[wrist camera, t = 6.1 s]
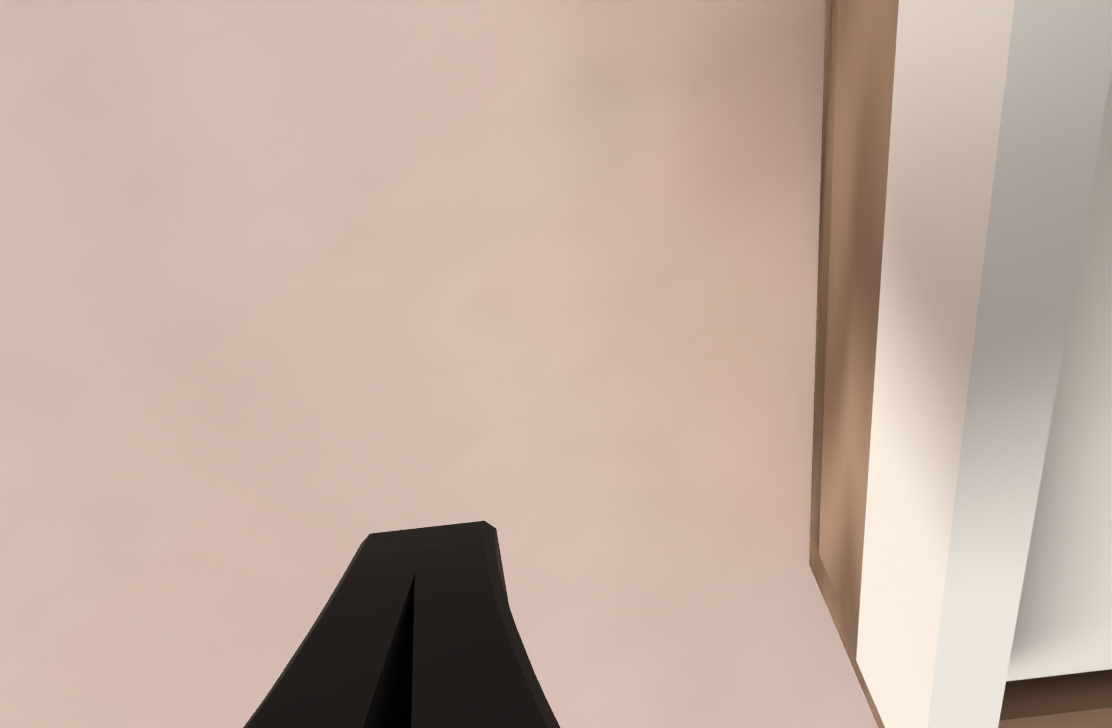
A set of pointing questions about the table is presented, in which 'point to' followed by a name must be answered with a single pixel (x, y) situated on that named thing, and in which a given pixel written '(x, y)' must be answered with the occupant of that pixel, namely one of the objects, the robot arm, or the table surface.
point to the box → (850, 349)
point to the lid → (991, 362)
